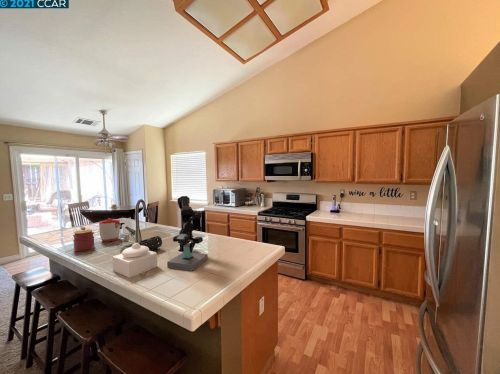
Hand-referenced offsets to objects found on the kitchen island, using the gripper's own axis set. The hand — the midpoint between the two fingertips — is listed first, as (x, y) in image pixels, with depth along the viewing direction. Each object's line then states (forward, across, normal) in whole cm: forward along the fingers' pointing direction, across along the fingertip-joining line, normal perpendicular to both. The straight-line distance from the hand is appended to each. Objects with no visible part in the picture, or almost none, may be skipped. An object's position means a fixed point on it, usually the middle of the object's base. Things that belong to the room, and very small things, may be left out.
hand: (188, 252), depth 140 cm
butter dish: (+8, -27, -16) cm, 32 cm away
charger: (+3, 0, 0) cm, 3 cm away
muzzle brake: (+8, -41, +5) cm, 42 cm away
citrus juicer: (+8, -95, +26) cm, 99 cm away
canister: (+7, -94, +2) cm, 94 cm away
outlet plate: (+7, 0, 0) cm, 7 cm away
